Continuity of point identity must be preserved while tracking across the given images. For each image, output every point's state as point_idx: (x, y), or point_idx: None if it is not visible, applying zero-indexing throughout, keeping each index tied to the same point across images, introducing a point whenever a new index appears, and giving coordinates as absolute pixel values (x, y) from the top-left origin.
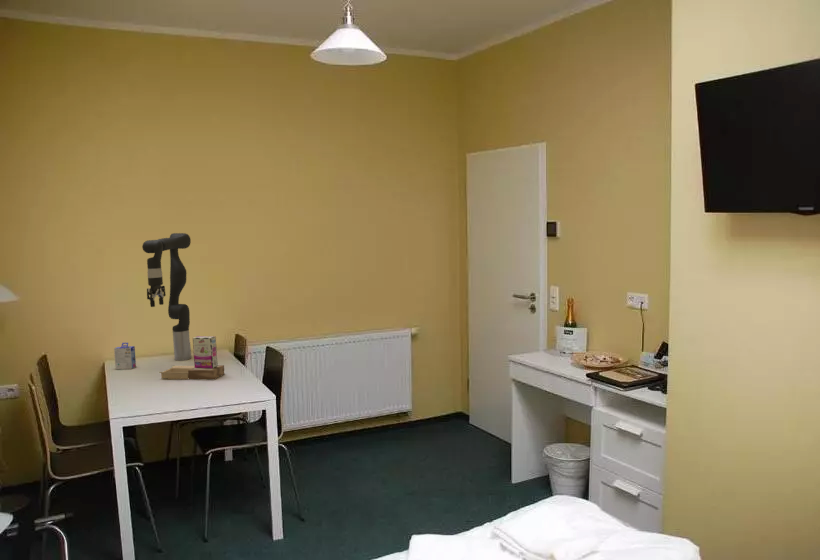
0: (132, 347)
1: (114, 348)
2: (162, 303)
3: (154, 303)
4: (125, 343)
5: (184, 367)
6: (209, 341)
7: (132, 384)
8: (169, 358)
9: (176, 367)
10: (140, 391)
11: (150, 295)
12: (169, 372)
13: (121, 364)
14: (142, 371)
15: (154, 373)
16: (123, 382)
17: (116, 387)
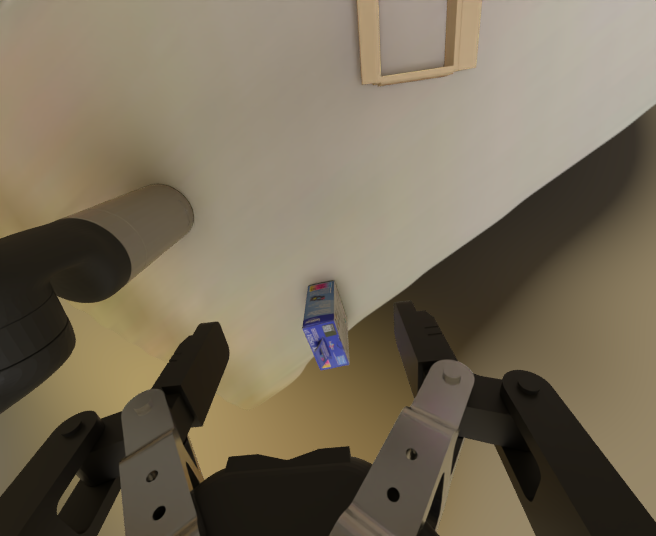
0: (320, 322)
1: (348, 364)
2: (212, 331)
3: (410, 324)
4: (319, 357)
5: (370, 6)
6: None
7: (529, 132)
8: (179, 263)
9: (373, 55)
10: (648, 10)
11: (589, 453)
12: (481, 4)
13: (342, 313)
14: (355, 227)
15: (375, 165)
16: (498, 186)
17: (564, 161)
